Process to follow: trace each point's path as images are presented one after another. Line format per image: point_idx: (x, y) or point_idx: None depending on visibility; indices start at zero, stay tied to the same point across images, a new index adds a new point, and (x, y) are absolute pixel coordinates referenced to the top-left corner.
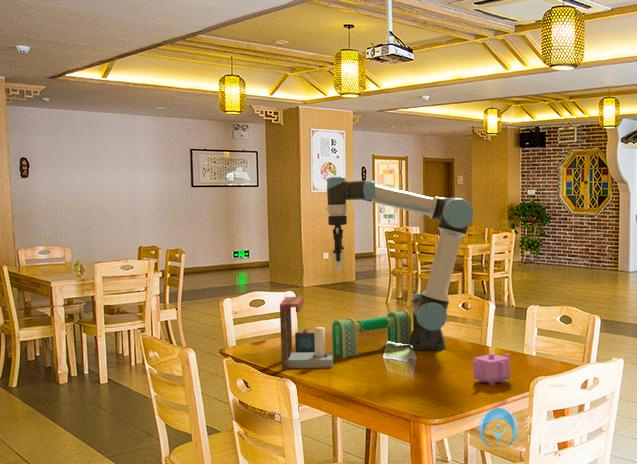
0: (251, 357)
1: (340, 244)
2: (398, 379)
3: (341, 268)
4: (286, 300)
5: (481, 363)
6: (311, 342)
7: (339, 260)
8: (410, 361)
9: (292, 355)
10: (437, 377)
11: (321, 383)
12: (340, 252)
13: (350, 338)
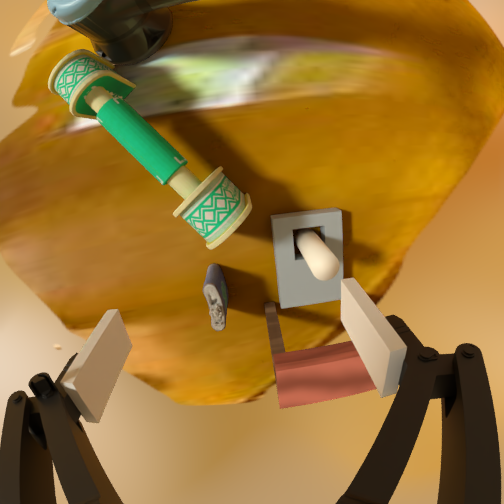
0: (262, 369)
1: (489, 392)
2: (405, 77)
3: (356, 283)
4: (348, 388)
5: None
6: (221, 284)
7: (398, 320)
8: (273, 45)
9: (305, 300)
10: (383, 15)
11: (431, 211)
12: (429, 351)
13: (229, 186)
